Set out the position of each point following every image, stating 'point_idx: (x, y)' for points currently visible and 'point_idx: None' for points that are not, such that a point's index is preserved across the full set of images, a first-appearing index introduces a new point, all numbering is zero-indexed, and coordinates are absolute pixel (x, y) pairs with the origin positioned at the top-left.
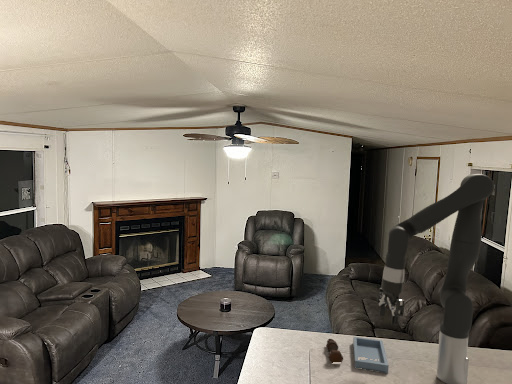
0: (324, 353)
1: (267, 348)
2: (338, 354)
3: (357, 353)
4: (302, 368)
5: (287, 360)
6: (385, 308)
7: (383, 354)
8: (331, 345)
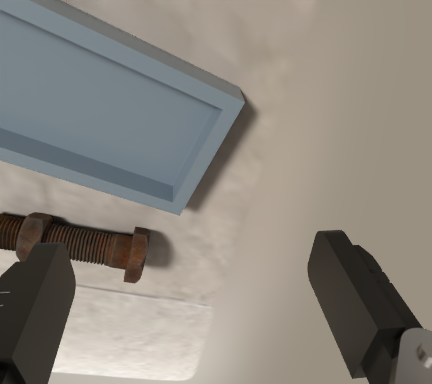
0: None
1: None
2: (144, 262)
3: (118, 186)
4: (162, 310)
5: (118, 328)
6: (22, 333)
7: (131, 64)
8: None
